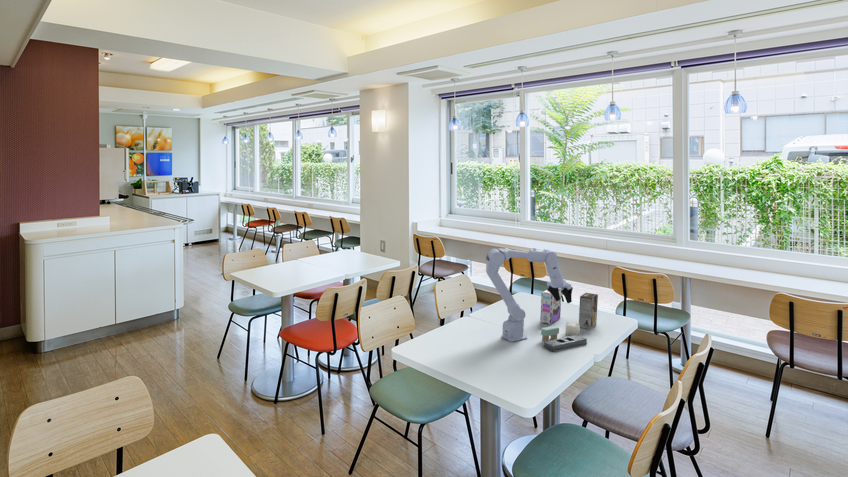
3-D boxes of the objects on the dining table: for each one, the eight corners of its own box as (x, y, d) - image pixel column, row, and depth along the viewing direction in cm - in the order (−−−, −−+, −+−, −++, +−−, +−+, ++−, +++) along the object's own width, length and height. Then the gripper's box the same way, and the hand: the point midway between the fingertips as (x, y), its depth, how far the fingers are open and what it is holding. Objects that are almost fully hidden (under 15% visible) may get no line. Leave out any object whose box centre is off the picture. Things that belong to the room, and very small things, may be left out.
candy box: (550, 324, 237) (552, 293, 234) (539, 322, 240) (541, 291, 238) (560, 318, 248) (562, 288, 245) (550, 315, 251) (551, 286, 249)
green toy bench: (545, 342, 213) (545, 330, 212) (540, 340, 215) (541, 328, 214) (558, 340, 216) (559, 327, 215) (553, 337, 219) (554, 325, 218)
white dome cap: (572, 337, 219) (572, 327, 218) (562, 333, 225) (563, 323, 224) (582, 335, 222) (582, 325, 221) (572, 331, 227) (572, 321, 227)
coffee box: (584, 322, 241) (585, 292, 239) (596, 324, 237) (598, 294, 235) (578, 326, 234) (579, 296, 231) (590, 329, 230) (592, 298, 227)
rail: (552, 351, 202) (552, 346, 202) (543, 346, 208) (543, 341, 207) (586, 344, 211) (586, 338, 211) (576, 339, 216) (577, 334, 216)
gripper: (572, 272, 211) (581, 299, 213) (551, 270, 224) (559, 296, 226) (561, 279, 208) (570, 306, 210) (540, 276, 221) (548, 302, 223)
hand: (563, 301), depth 218 cm, fingers open, 7 cm apart
